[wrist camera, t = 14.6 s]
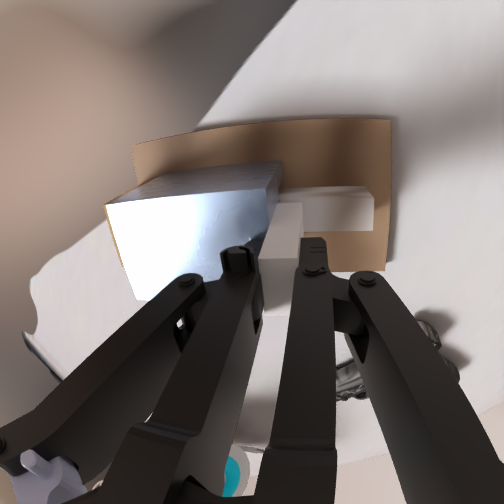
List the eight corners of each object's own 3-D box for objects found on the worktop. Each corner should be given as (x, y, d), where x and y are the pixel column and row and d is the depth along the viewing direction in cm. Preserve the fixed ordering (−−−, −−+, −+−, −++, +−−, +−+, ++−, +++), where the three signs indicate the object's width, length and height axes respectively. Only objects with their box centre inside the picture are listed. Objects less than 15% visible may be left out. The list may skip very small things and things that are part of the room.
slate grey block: (281, 160, 19) (265, 188, 12) (288, 241, 22) (276, 305, 15) (167, 172, 21) (106, 205, 14) (183, 244, 24) (136, 299, 17)
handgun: (335, 440, 33) (270, 406, 30) (336, 421, 36) (274, 383, 33) (464, 384, 24) (429, 328, 21) (457, 363, 27) (420, 304, 24)
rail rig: (386, 119, 17) (414, 122, 12) (382, 264, 22) (398, 308, 17) (137, 144, 22) (91, 157, 16) (165, 267, 27) (135, 303, 22)
